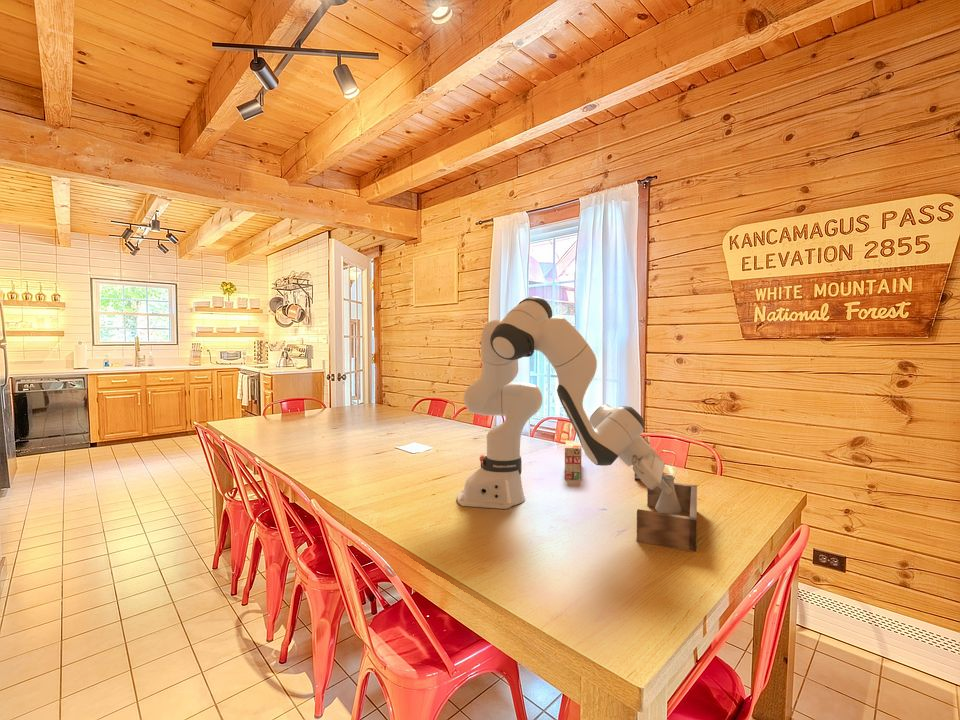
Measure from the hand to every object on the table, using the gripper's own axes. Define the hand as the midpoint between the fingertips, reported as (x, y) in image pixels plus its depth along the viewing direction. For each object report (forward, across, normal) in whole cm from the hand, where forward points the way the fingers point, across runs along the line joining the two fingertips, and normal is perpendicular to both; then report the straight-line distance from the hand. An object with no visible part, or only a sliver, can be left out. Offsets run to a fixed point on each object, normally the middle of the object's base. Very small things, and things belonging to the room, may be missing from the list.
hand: (671, 489), depth 128 cm
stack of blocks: (-19, +40, +35) cm, 56 cm away
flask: (+4, 0, +5) cm, 6 cm away
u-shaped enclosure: (+7, -1, +7) cm, 10 cm away
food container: (0, +42, +15) cm, 45 cm away
